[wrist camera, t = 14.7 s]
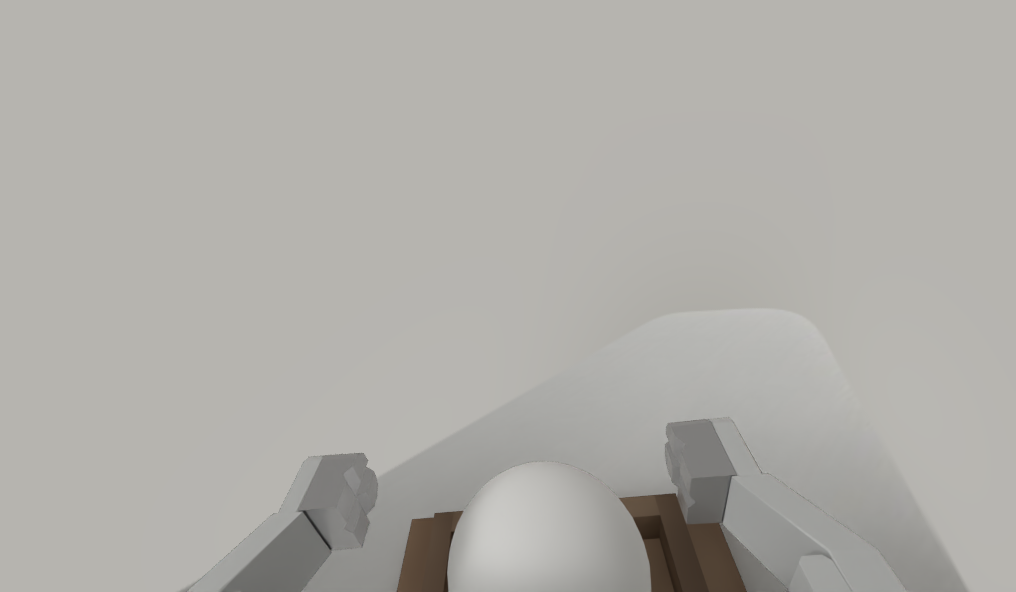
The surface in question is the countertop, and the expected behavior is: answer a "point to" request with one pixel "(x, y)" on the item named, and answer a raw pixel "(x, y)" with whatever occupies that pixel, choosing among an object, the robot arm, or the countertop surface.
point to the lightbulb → (547, 536)
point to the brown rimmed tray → (667, 538)
